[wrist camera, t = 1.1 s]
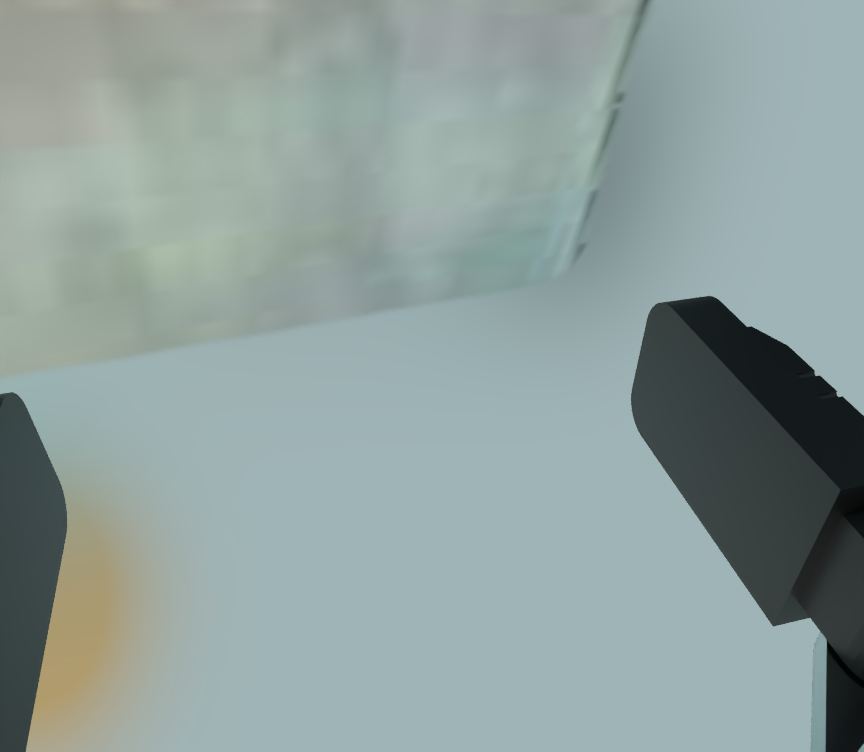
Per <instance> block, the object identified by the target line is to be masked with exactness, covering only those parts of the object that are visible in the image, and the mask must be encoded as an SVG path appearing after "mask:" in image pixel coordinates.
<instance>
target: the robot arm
mask: <svg viewBox="0 0 864 752" xmlns="http://www.w3.org/2000/svg"><path fill="white" fill-rule="evenodd" d="M836 392H837V391H836V390H835V389H834V388H833V387H832V386H831V385H829V384H828V383H827V382H826V381H825V380H824V379H823V378H822V377H821V376H815V374H814V370H813V369H812V368H811V367H810V366H809V365H808V364H807V363H806V362H805V361H804V360H803V359H802V358H800V357H799V356H798V355H797V354H796V353H795V352H794V351H793V350H792V349H791V348H789V346H787V345H785V344H783V343H781V342H780V341H778V340H776V339H774V338H772V337H770V336H768V335H767V334H765V333H763V332H761V331H759V330H757V329H755V328H753V327H746V326H745V325H744V324H743V323H742V322H741V321H740V320H739V319H738V318H737V317H736V316H735V315H734V314H733V313H732V312H731V311H730V310H729V309H728V308H727V307H726V306H725V305H724V304H723V303H722V302H720V301H719V300H718V299H717V298H714V297H712V296H706V297H699V298H692V299H684V300H677V301H670V302H663V303H658V304H656V305H655V306H654V307H653V308H652V309H651V311H650V313H649V315H648V319H647V323H646V328H645V333H644V337H643V341H642V346H641V351H640V356H639V360H638V365H637V369H636V374H635V378H634V383H633V388H632V394H631V405H632V412H633V417H634V421H635V424H636V426H637V428H638V431H639V433H640V434H641V436H642V438H643V439H644V440H645V442H646V443H647V445H648V446H649V448H650V449H651V450H652V452H653V453H654V455H655V456H656V458H657V459H658V461H659V462H660V463H661V465H662V466H663V468H664V469H665V471H666V472H667V474H668V475H669V477H670V478H671V479H672V481H673V482H674V484H675V485H676V487H677V488H678V489H679V491H680V492H681V494H682V495H683V497H684V498H685V500H686V501H687V503H688V504H689V505H690V507H691V508H692V510H693V511H694V513H695V514H696V515H697V517H698V518H699V520H700V521H701V523H702V524H703V526H704V527H705V529H706V530H707V531H708V533H709V534H710V536H711V537H712V539H713V540H714V542H715V543H716V544H717V546H718V547H719V549H720V550H721V552H722V553H723V554H724V556H725V558H726V559H727V560H728V562H729V563H730V565H731V566H732V568H733V569H734V571H735V572H736V573H737V575H738V576H739V578H740V579H741V581H742V582H743V583H744V585H745V586H746V588H747V589H748V591H749V592H750V594H751V595H752V597H753V598H754V599H755V601H756V602H757V604H758V605H759V607H760V608H761V609H762V611H763V612H764V614H765V615H766V617H767V618H768V620H769V621H770V623H771V624H772V625H773V626H776V625H781V624H785V623H789V622H794V621H798V620H802V619H806V618H811V619H812V621H813V622H814V623H815V625H816V626H817V627H818V629H819V630H820V631H821V632H820V634H819V636H818V637H817V640H816V642H815V644H814V650H813V680H812V718H811V720H812V721H811V752H864V416H863V415H862V414H861V413H860V412H859V411H858V410H856V409H855V408H854V407H853V406H852V405H851V404H850V403H849V402H848V401H847V400H846V399H845V398H843V397H838V396H837V394H836ZM66 531H67V511H66V504H65V498H64V494H63V490H62V487H61V484H60V481H59V479H58V477H57V475H56V472H55V470H54V468H53V466H52V464H51V462H50V459H49V457H48V455H47V452H46V450H45V448H44V446H43V443H42V441H41V439H40V437H39V435H38V432H37V430H36V428H35V426H34V424H33V421H32V419H31V417H30V415H29V412H28V410H27V408H26V406H25V404H24V402H23V401H22V399H21V398H20V397H19V396H18V395H17V394H15V393H12V392H11V393H4V394H0V752H25V751H26V746H27V740H28V735H29V730H30V724H31V718H32V714H33V708H34V703H35V698H36V692H37V687H38V682H39V677H40V671H41V666H42V660H43V655H44V650H45V645H46V639H47V634H48V629H49V623H50V618H51V613H52V607H53V602H54V597H55V591H56V586H57V581H58V575H59V570H60V564H61V559H62V554H63V549H64V543H65V538H66Z"/></svg>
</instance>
